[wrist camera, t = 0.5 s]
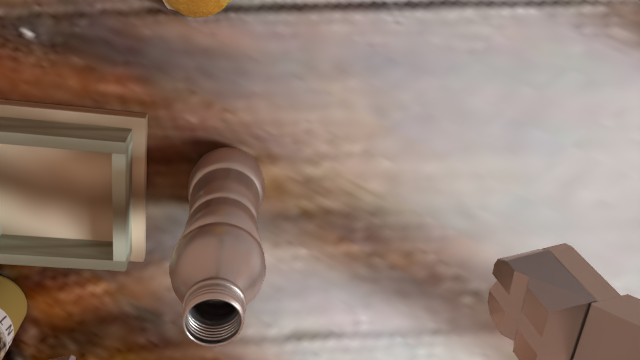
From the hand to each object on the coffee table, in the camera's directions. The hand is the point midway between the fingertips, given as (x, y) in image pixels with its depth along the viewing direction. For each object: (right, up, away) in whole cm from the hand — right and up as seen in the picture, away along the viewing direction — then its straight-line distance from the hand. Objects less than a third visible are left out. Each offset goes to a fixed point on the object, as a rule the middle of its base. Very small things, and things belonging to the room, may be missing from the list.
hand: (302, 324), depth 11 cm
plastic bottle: (-8, +3, +41) cm, 42 cm away
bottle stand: (-22, +3, +40) cm, 45 cm away
